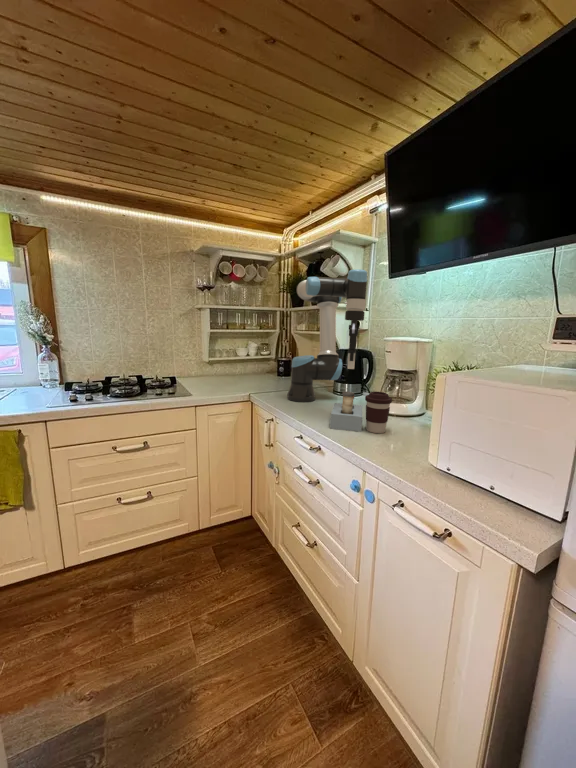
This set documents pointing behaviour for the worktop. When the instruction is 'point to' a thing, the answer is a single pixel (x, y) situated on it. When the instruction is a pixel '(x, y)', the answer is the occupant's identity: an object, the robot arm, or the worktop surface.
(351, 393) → the beige cylinder
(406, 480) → the worktop surface
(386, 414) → the coffee cup
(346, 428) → the plunger block
